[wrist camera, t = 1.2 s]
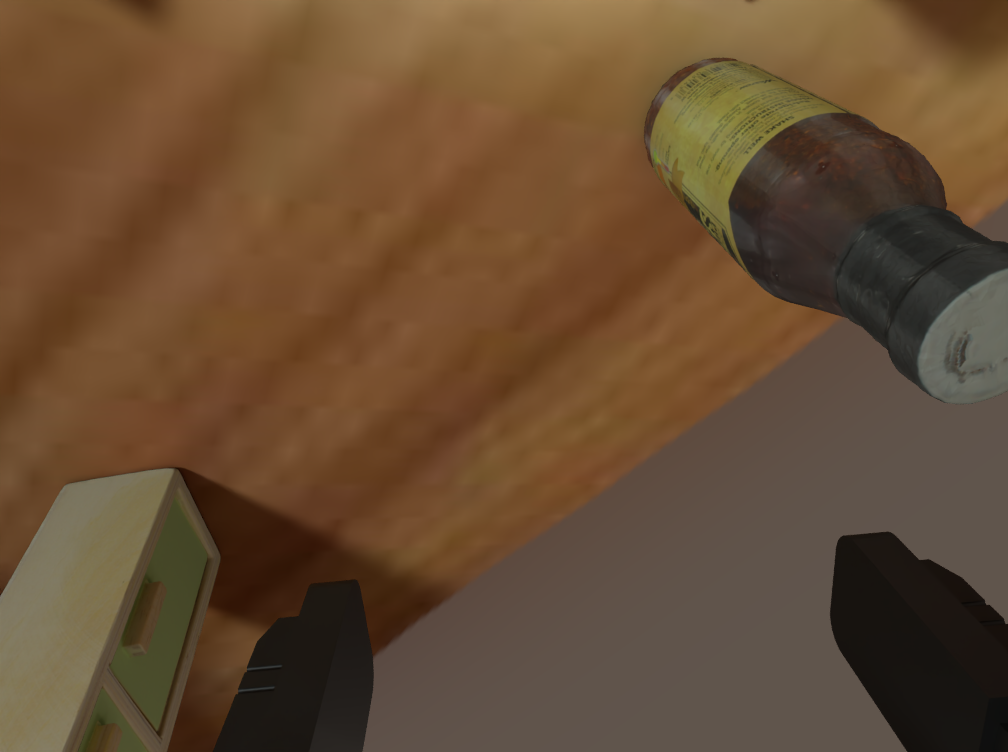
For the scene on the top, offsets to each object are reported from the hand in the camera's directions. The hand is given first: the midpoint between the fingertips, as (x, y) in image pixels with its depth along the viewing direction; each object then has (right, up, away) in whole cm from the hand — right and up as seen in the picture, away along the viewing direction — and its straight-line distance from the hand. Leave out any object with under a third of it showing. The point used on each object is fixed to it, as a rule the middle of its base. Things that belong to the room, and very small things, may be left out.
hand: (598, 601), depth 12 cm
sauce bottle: (+8, +16, +22) cm, 28 cm away
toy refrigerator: (-23, -5, +32) cm, 39 cm away
